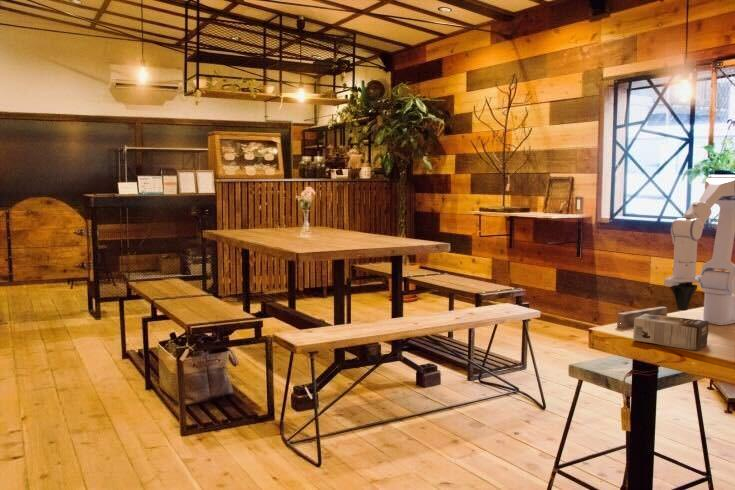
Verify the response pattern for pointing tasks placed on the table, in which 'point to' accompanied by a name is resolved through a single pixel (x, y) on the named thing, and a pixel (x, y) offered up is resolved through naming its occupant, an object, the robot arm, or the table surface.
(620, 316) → the walnut board
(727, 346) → the table surface
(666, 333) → the coffee box
